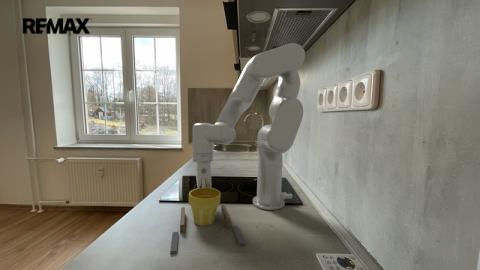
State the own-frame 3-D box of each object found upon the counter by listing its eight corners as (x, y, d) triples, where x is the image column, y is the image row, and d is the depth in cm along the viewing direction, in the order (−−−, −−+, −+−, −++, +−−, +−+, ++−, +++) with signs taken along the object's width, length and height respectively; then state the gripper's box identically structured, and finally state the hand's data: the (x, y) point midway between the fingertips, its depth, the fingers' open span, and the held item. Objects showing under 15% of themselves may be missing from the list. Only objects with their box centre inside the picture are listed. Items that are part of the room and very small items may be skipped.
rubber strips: (237, 227, 69) (237, 225, 69) (244, 245, 60) (244, 242, 60) (172, 234, 64) (172, 232, 64) (170, 254, 56) (170, 251, 56)
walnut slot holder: (224, 210, 80) (224, 204, 80) (230, 227, 69) (230, 220, 69) (181, 214, 77) (181, 207, 77) (180, 232, 65) (180, 225, 65)
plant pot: (222, 214, 77) (223, 187, 76) (216, 230, 67) (217, 199, 66) (194, 212, 78) (194, 186, 77) (184, 227, 68) (184, 197, 67)
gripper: (215, 161, 74) (215, 212, 76) (211, 152, 88) (210, 196, 90) (192, 161, 72) (192, 214, 74) (192, 152, 87) (192, 197, 89)
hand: (202, 204), depth 82 cm, fingers closed
